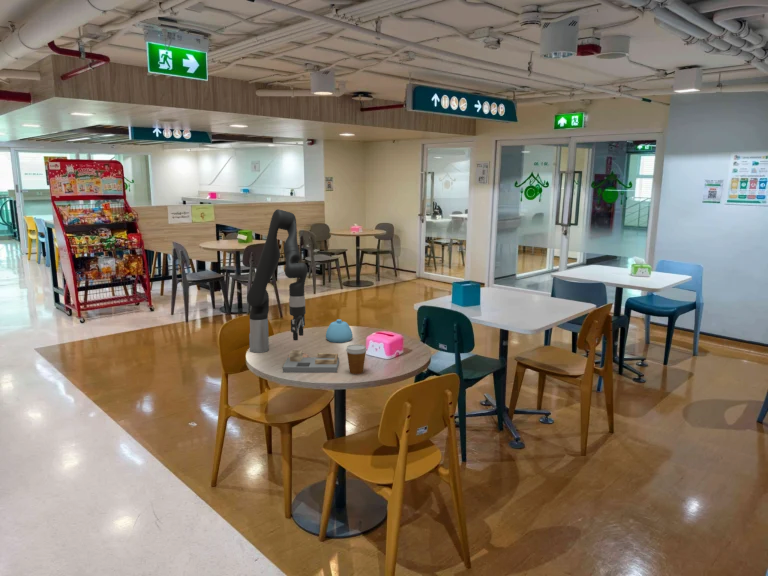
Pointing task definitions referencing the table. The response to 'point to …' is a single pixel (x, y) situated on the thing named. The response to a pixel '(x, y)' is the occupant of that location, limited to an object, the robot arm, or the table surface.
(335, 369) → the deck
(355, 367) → the disposable coffee cup
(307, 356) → the saucer
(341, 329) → the sugar bowl
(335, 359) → the frame
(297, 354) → the block
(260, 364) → the table surface
